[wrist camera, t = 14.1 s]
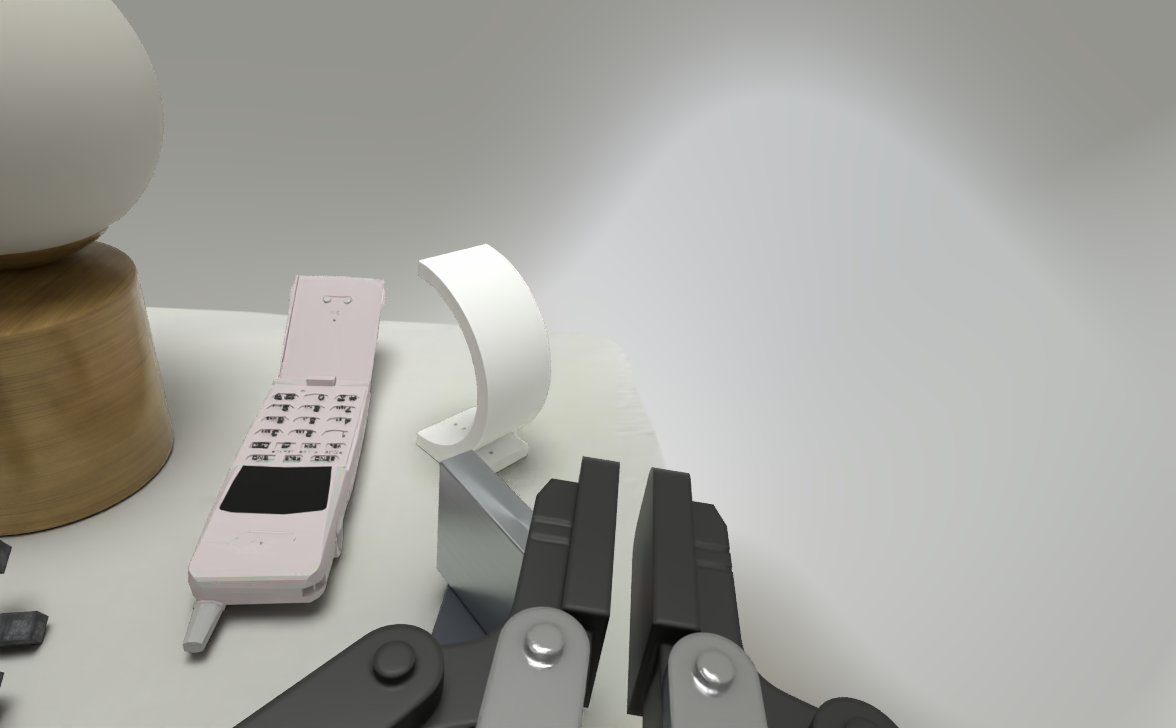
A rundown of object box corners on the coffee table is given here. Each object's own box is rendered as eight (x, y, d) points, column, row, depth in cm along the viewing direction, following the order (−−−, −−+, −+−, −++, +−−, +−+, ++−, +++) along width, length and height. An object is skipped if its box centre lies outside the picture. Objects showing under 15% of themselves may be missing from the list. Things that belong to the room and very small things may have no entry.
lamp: (2, 357, 43) (-174, -129, 30) (245, 367, 46) (180, -76, 33) (-195, 538, 30) (-647, -168, 17) (158, 536, 33) (-4, -76, 20)
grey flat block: (435, 568, 32) (439, 456, 28) (465, 554, 33) (472, 443, 29) (554, 722, 26) (576, 606, 23) (585, 699, 27) (612, 585, 24)
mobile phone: (388, 276, 47) (310, 555, 26) (390, 350, 50) (322, 654, 29) (294, 271, 46) (134, 557, 25) (302, 347, 49) (166, 660, 28)
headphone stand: (475, 416, 45) (486, 243, 38) (539, 464, 41) (563, 284, 35) (415, 443, 41) (417, 260, 35) (480, 497, 38) (495, 307, 32)
